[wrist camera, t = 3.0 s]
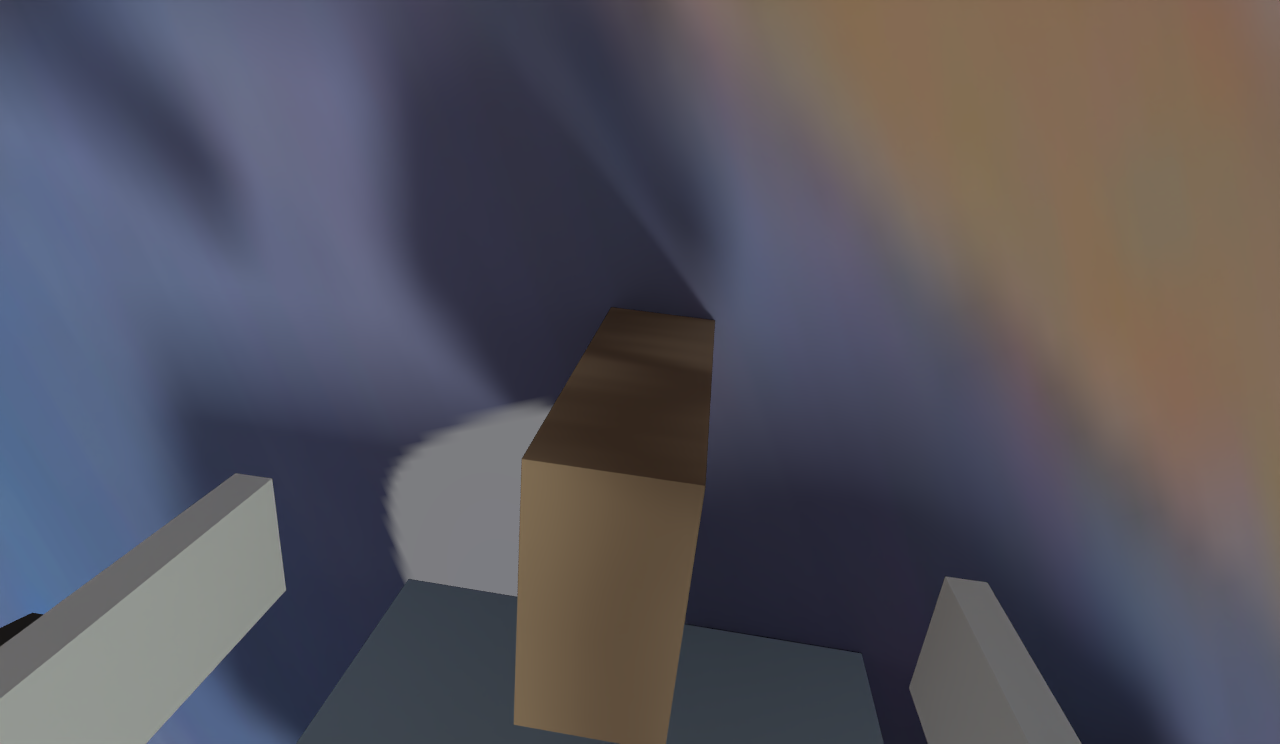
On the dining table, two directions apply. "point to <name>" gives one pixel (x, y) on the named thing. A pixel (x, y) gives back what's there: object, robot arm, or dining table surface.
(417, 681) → the coin box
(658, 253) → the dining table surface
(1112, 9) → the dining table surface
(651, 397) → the block
